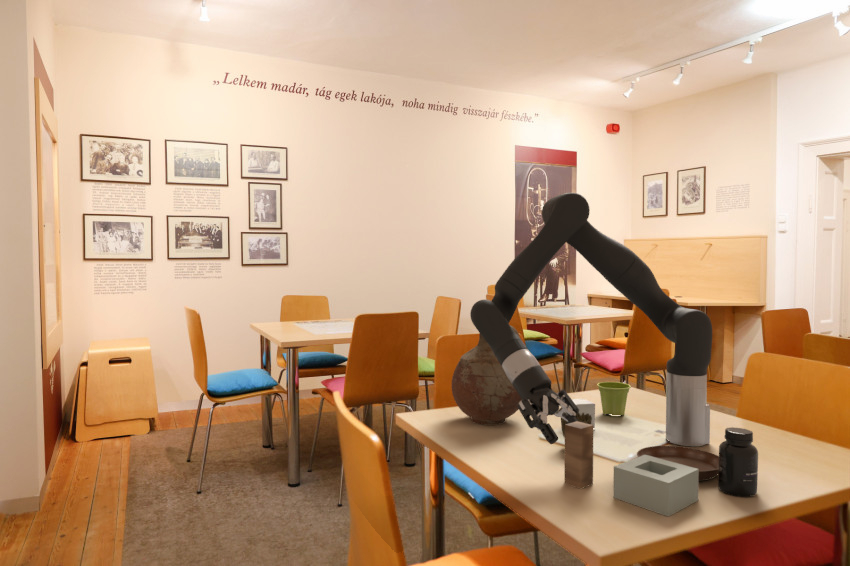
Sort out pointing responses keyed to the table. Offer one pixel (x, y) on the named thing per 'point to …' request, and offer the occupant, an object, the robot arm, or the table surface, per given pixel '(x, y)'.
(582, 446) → the brown wooden bar
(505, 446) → the table surface
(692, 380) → the robot arm
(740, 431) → the supplement bottle
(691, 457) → the plant saucer
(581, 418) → the cup
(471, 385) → the jug
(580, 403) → the product box
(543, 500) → the table surface
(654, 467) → the socket block
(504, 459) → the table surface
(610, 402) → the plant pot
